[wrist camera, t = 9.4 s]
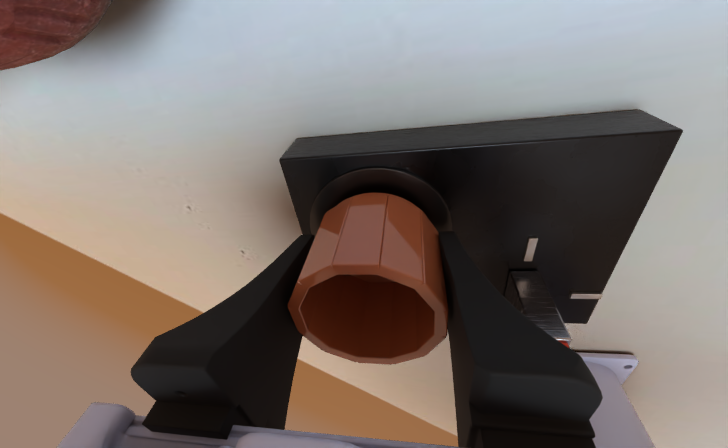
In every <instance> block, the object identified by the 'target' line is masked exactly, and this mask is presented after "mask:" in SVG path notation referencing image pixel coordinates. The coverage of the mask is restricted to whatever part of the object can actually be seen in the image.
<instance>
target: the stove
mask: <svg viewBox="0 0 728 448" xmlns="http://www.w3.org/2000/svg"><path fill="white" fill-rule="evenodd" d="M682 132H683V130H682V129H680V128H678V127H676V126H673V125H671V124H669V123H667V122H665V121H663V120H661V119H659V118H657V117H654V116H652V115H650V114H648V113H646V112H644V111H642V110H629V111H618V112H606V113H594V114H582V115H571V116H559V117H547V118H535V119H524V120H512V121H500V122H488V123H476V124H465V125H453V126H441V127H429V128H418V129H406V130H394V131H382V132H370V133H359V134H347V135H335V136H323V137H312V138H300V139H296V140H295V141H294V142H293V143H292V145H291V146H290V147H289V148H288V150H287V151H286V152H285V153H284V154H283V156H282V157H281V158H280V164H281V167H282V170H283V173H284V177H285V180H286V183H287V186H288V189H289V193H290V196H291V199H292V202H293V205H294V208H295V212H296V215H297V218H298V221H299V224H300V227H301V231H302V234H303V235H312V233H311V229H310V213H311V209H312V206H313V203H314V201H315V199H316V197H317V196H318V194H319V193H320V191H321V190H322V189H323V188H324V187H325V186H326V185H327V184H328V183H329V182H330V181H331V180H333V179H334V178H336V177H338V176H339V175H341V174H343V173H346V172H348V171H351V170H354V169H358V168H363V167H371V166H383V167H391V168H396V169H400V170H404V171H407V172H409V173H412V174H414V175H416V176H418V177H420V178H422V179H423V180H425V181H426V182H427V183H429V184H430V185H431V186H432V187H433V188H434V189H435V190H437V192H438V193H439V194H440V195H441V197H442V198H443V199H444V201H445V203H446V205H447V207H448V209H449V212H450V216H451V221H452V231H454V232H455V233H456V234H457V236H458V238H459V240H460V241H461V243H462V245H463V247H464V248H465V250H466V251H467V253H468V254H469V256H470V257H471V258H472V260H473V261H474V263H475V264H476V265H477V267H478V268H479V269H480V270H481V272H482V273H483V274H484V275H485V277H486V278H487V279H488V280H489V281H490V282H491V284H492V285H493V286H494V287H495V288H496V289H497V290H498V291H499V292H500V293H501V294H502V295H503V296H504V297H505V292H506V287H507V282H508V277H509V272H510V271H539V272H540V274H541V276H542V278H543V280H544V282H545V284H546V287H547V289H548V291H549V293H550V295H551V297H552V299H553V301H554V303H555V305H556V308H557V310H558V312H559V314H560V316H561V318H562V320H563V322H564V323H583V324H586V323H587V322H588V320H589V318H590V316H591V314H592V312H593V310H594V308H595V306H596V304H597V302H598V300H599V299H601V297H602V295H603V294H602V292H603V290H604V288H605V286H606V284H607V282H608V280H609V278H610V276H611V274H612V272H613V270H614V268H615V266H616V264H617V262H618V260H619V258H620V256H621V254H622V252H623V250H624V248H625V246H626V244H627V242H628V240H629V238H630V236H631V234H632V232H633V230H634V228H635V226H636V224H637V222H638V220H639V218H640V216H641V214H642V212H643V210H644V208H645V206H646V204H647V202H648V200H649V198H650V196H651V194H652V192H653V190H654V188H655V186H656V184H657V182H658V180H659V178H660V176H661V174H662V172H663V170H664V168H665V166H666V164H667V162H668V160H669V158H670V156H671V154H672V152H673V150H674V148H675V146H676V144H677V142H678V140H679V138H680V136H681V134H682Z"/></svg>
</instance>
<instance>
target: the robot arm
mask: <svg viewBox="0 0 728 448" xmlns="http://www.w3.org/2000/svg"><path fill="white" fill-rule="evenodd" d="M314 238H315V237H314V235H301V236H299V237H298V238H297V239H296V240H295V241H294V242H293V243H292V244H291V245H290V246H289V247H288V248H287V249H286V250H285V251H284V252H283V253H282V254H281V255H280V256H279V257H278V258H277V259H276V260H275V261H274V262H273V263H271V264H270V265H269V266H268V267H267V268H266V269H265V270H264V271H262V272H261V273H260V274H259V275H258V276H257V277H256V278H254V279H253V280H252V281H251V282H249V283H248V284H247V285H246V286H244V287H243V288H242V289H240V290H239V291H237V292H236V293H235V294H233V295H232V296H230V297H229V298H227V299H226V300H224V301H223V302H221V303H219V304H218V305H216V306H215V307H213V308H212V309H210V310H208V311H206V312H205V313H203V314H201V315H199V316H198V317H196V318H194V319H192V320H190V321H188V322H186V323H184V324H182V325H180V326H178V327H176V328H174V329H172V330H170V331H168V332H166V333H164V334H162V335H159V336H157V337H155V338H154V340H153V341H152V342H151V344H150V345H149V346H148V348H147V349H146V350H145V351H144V353H143V354H142V355H141V357H140V358H139V359H138V361H137V362H136V363H135V365H134V366H133V367H132V368H131V376H132V378H133V380H134V381H135V382H136V383H137V384H138V385H139V386H140V387H141V388H142V389H143V390H145V391H146V392H147V393H148V394H149V395H150V396H151V397H153V398H154V399H155V400H156V402H155V404H154V405H153V407H152V409H151V410H150V412H149V413H148V415H147V416H137V415H135V413H134V412H133V411H132V410H130V409H129V408H127V407H125V406H123V405H119V404H110V403H100V402H94V403H91V405H90V406H89V407H88V408H87V410H86V411H85V412H84V413H83V415H82V416H81V417H80V418H79V420H78V421H77V422H76V423H75V425H74V426H73V427H72V429H71V430H70V431H69V432H68V434H67V435H66V436H65V437H64V439H63V440H62V441H61V442H60V444H59V445H58V446H57V447H56V448H656V447H655V446H654V444H653V442H652V440H651V438H650V436H649V435H648V433H647V431H646V429H645V427H644V426H643V424H642V422H641V420H640V418H639V416H638V415H637V413H636V411H635V409H634V407H633V406H632V404H631V402H630V400H629V398H628V396H627V395H626V393H625V391H624V389H623V387H622V386H621V385H622V384H623V383H624V381H625V380H626V379H627V377H628V376H629V375H630V373H631V372H632V371H633V369H634V368H635V367H636V366H637V364H638V362H639V361H638V359H637V358H636V356H634V355H628V354H603V353H578V352H574V351H573V350H571V349H570V348H568V347H567V346H565V345H564V344H562V343H561V342H559V341H558V340H556V339H555V338H553V337H552V336H550V335H549V334H547V333H546V332H545V331H543V330H542V329H541V328H539V327H538V326H537V325H536V324H534V323H533V322H532V321H531V320H530V319H528V318H527V317H526V316H525V315H524V314H522V313H521V312H520V311H519V310H518V309H516V308H515V307H514V306H513V305H512V304H511V303H510V302H509V301H508V300H507V299H506V298H505V297H504V296H503V295H502V294H501V293H500V292H499V291H498V290H497V289H496V288H495V287H494V286H493V285H492V284H491V282H490V281H489V280H488V279H487V278H486V277H485V275H484V274H483V273H482V272H481V270H480V269H479V268H478V267H477V265H476V264H475V263H474V261H473V260H472V258H471V257H470V256H469V254H468V253H467V251H466V250H465V248H464V247H463V245H462V243H461V241H460V240H459V238H458V236H457V234H456V233H455V232H454V231H439V241H440V250H441V257H442V261H443V269H444V277H445V285H446V293H447V301H448V310H449V312H448V334H449V341H450V349H451V360H452V371H453V383H454V394H455V407H456V419H457V432H458V445H459V447H454V446H444V445H434V444H423V443H413V442H403V441H392V440H381V439H372V438H362V437H351V436H342V435H331V434H321V433H311V432H300V431H291V430H284V429H285V421H286V415H287V409H288V403H289V397H290V392H291V386H292V380H293V376H294V371H295V366H296V362H297V357H298V353H299V348H300V344H301V340H302V336H303V335H302V334H300V333H299V331H297V328H296V326H295V324H294V321H293V319H292V317H291V314H290V312H289V310H288V302H289V300H290V297H291V295H292V292H293V290H294V287H295V285H296V282H297V280H298V278H299V275H300V273H301V270H302V268H303V265H304V263H305V260H306V258H307V255H308V253H309V251H310V248H311V246H312V243H313V241H314Z"/></svg>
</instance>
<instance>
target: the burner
mask: <svg viewBox="0 0 728 448" xmlns="http://www.w3.org/2000/svg"><path fill="white" fill-rule="evenodd" d="M363 193H387V194H391V195H396V196H398V197H401V198H404V199H406V200H408V201H410V202H411V203H413V204H414V205H416V206H417V207H418V208H420V210H422V211H423V212H424V214H425V215H426V216H427V218H428V219H429V220H430V222H431V223H432V224H433V226H434V227H435V228H436V230H437V231H438V232H439V231H452V221H451V216H450V212H449V209H448V207H447V205H446V203H445V201H444V199H443V198H442V197H441V195H440V194H439V193H438V192H437V190H435V189H434V188H433V187H432V186H431V185H430V184H429V183H427V182H426V181H425V180H423V179H422V178H420V177H418V176H416V175H414V174H412V173H409V172H407V171H404V170H400V169H396V168H391V167H383V166H371V167H363V168H358V169H354V170H351V171H348V172H346V173H343V174H341V175H339V176H338V177H336V178H334V179H333V180H331V181H330V182H329V183H328V184H327V185H326V186H325V187H324V188H323V189H322V190H321V191H320V193H319V194H318V196H317V197H316V199H315V201H314V203H313V206H312V209H311V213H310V229H311V233H312V235H314V237H315V236H316V233H317V231H318V229H319V226H320V224H321V221H322V219H323V216H324V214H325V213H326V212H327V211H329V210H330V209H332V208H334V207H335V206H336V205H338V204H339V203H341V202H342V201H344V200H346V199H348V198H350V197H352V196H355V195H359V194H363Z"/></svg>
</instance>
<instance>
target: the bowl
mask: <svg viewBox="0 0 728 448" xmlns="http://www.w3.org/2000/svg"><path fill="white" fill-rule="evenodd" d="M111 1H112V0H0V70H5V69H10V68H15V67H19V66H22V65H26V64H29V63H33V62H36V61H40V60H43V59H46V58H49V57H52V56H54V55H56V54H58V53H60V52H62V51H64V50H66V49H69V48H71V47H72V46H74V45H75V44H77V43H78V42H79V41H81V40H82V39H83V38H85V36H86V35H88V34H89V33H90V32H91V31H92V30H93V29H94V28H95V27H96V26H97V24H98V23H99V21H100V19H101V18H102V16H103V15H104V13H105V12H106V10H107V8H108V7H109V5H110V3H111Z"/></svg>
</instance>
